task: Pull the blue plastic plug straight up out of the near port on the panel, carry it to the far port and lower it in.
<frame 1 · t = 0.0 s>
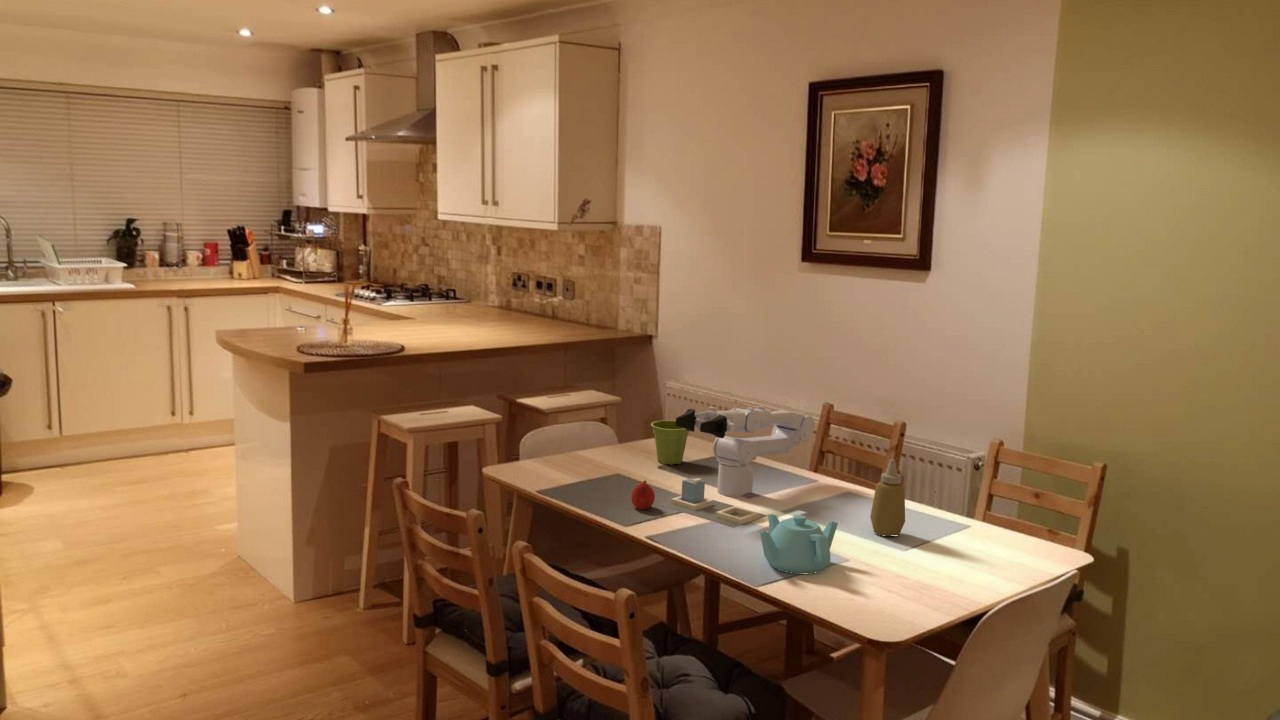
hand: (688, 424, 248), 22 cm above the table, tool horizontal, fingers open, 7 cm apart
plant pot: (669, 462, 297), on the table
red pomegranate: (642, 512, 248), on the table
squeeze bottle: (886, 534, 240), on the table
teapot: (795, 565, 217), on the table
plug: (692, 504, 253), point 1 cm above the table, touching panel
panel: (714, 514, 249), on the table
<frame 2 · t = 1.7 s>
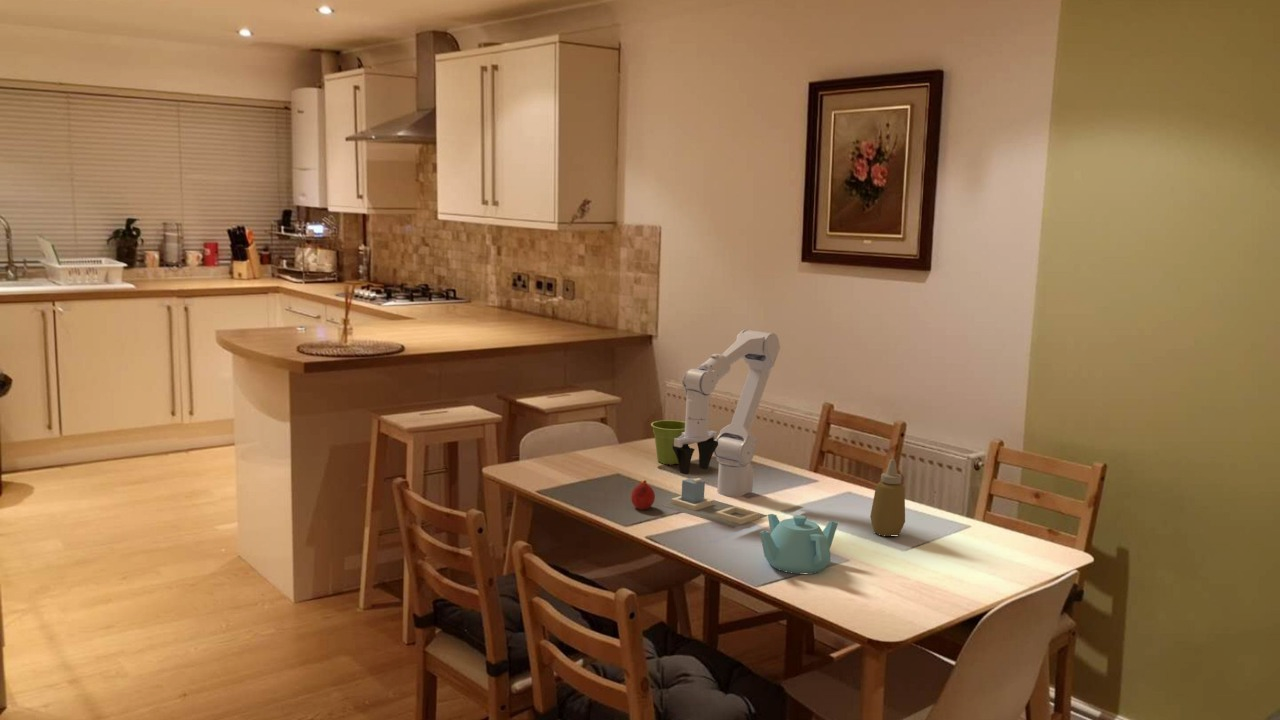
hand: (694, 471, 252), 9 cm above the table, tool pointing down, fingers open, 7 cm apart
nothing on the table moved.
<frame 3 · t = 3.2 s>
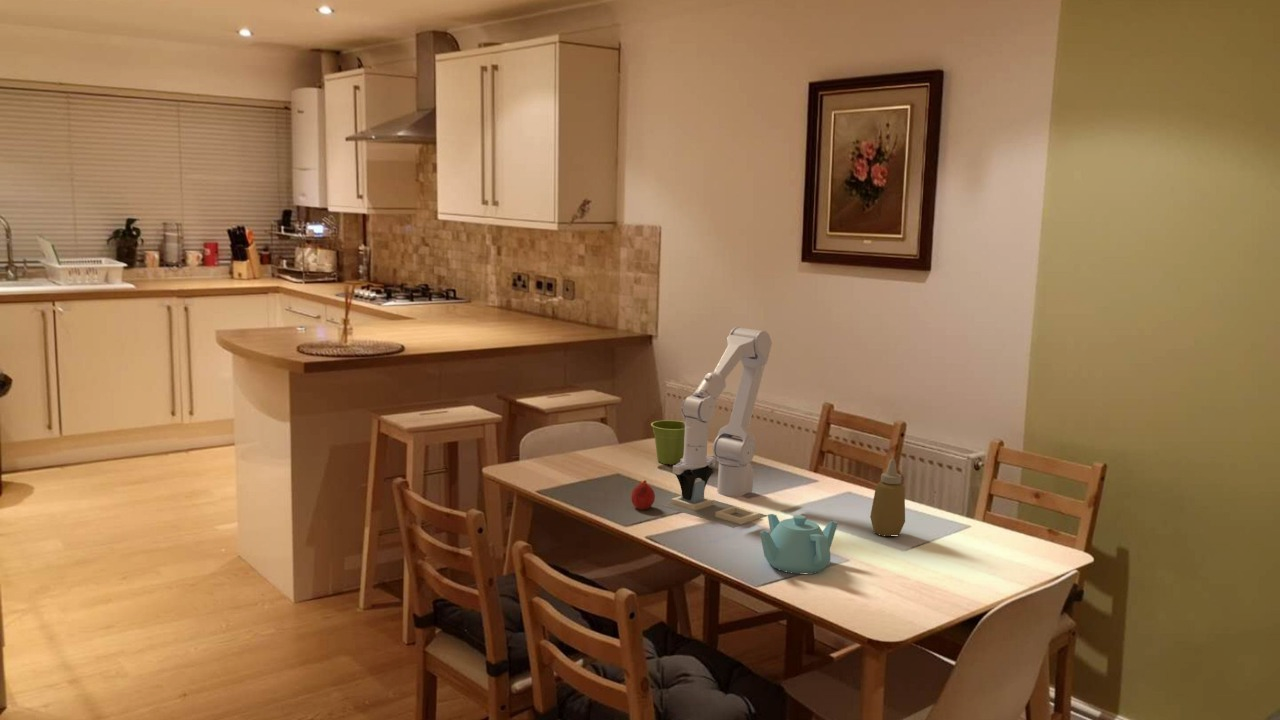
hand: (692, 497, 253), 3 cm above the table, tool pointing down, fingers closed on plug, 4 cm apart
plug: (692, 504, 253), point 1 cm above the table, touching gripper, panel
everything else where it was.
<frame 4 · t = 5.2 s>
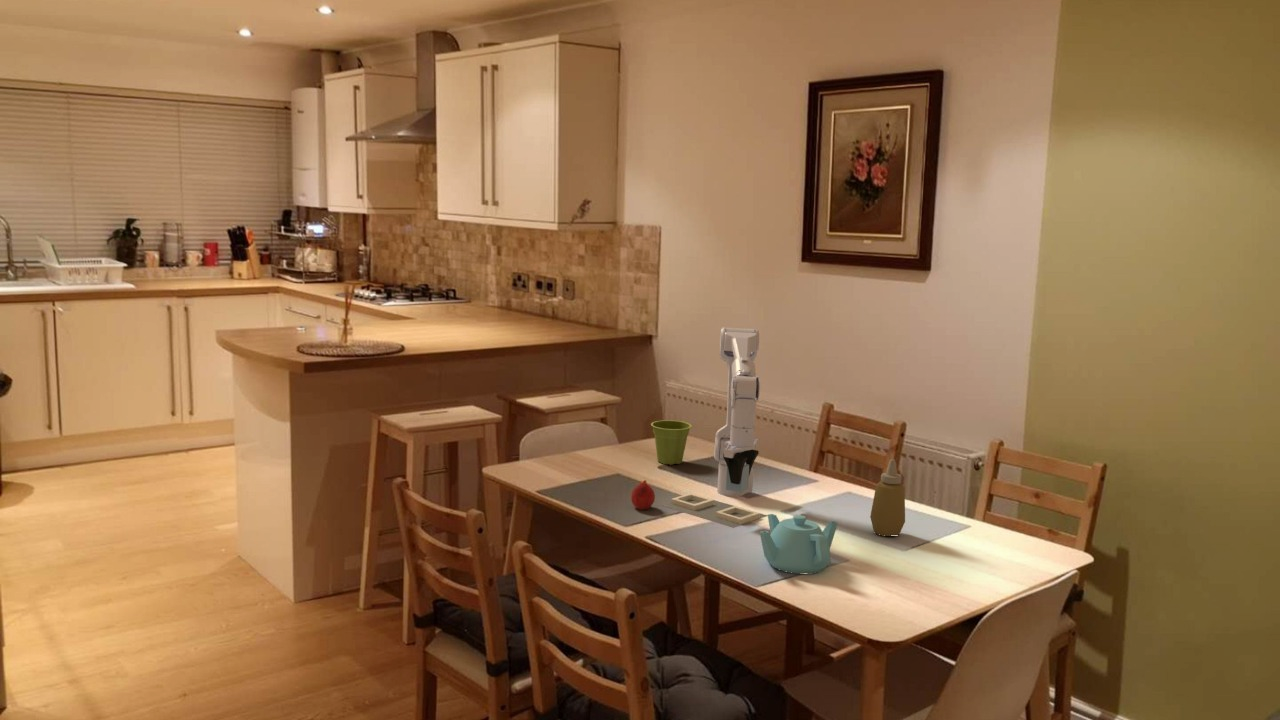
hand: (739, 481, 242), 10 cm above the table, tool pointing down, fingers closed on plug, 4 cm apart
plug: (737, 489, 243), point 8 cm above the table, touching gripper
everything else where it was.
when the fingers open (3 cm above the table, at t = 7.3 s): plug stays where it is, resting on panel.
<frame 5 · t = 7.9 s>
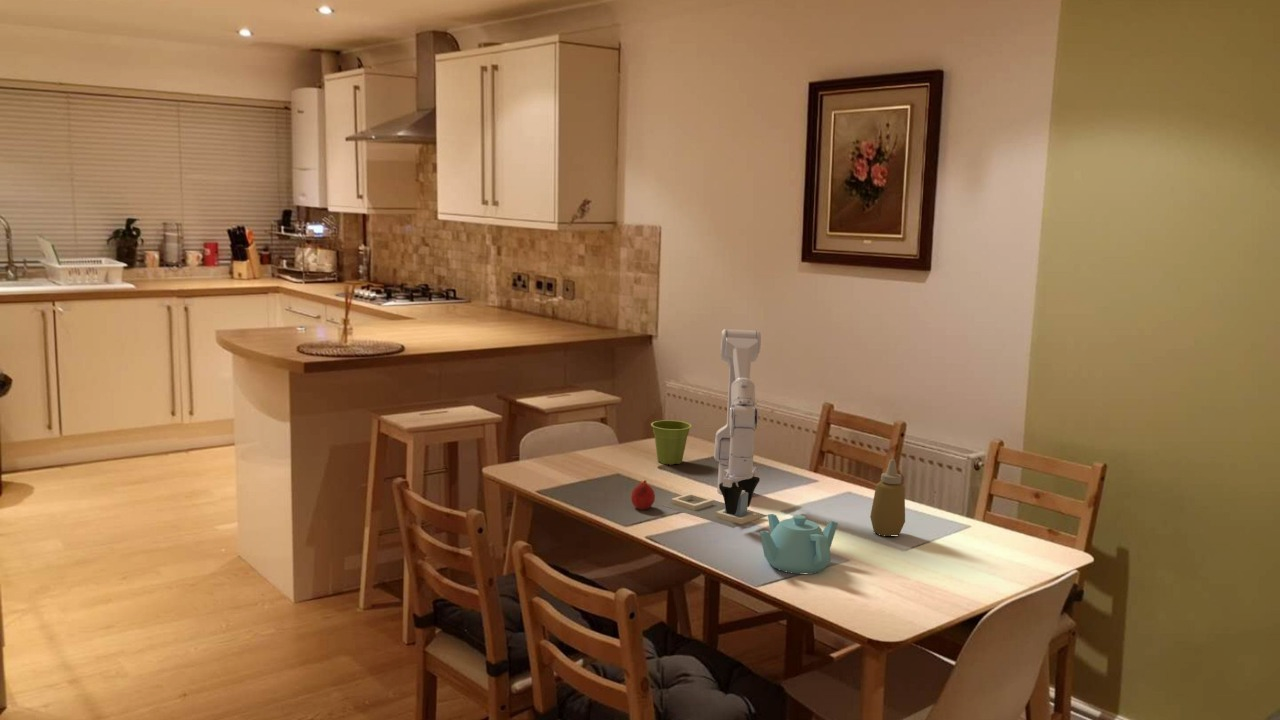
hand: (737, 509, 243), 3 cm above the table, tool pointing down, fingers open, 7 cm apart
plug: (735, 517, 244), point 1 cm above the table, touching panel
everything else where it was.
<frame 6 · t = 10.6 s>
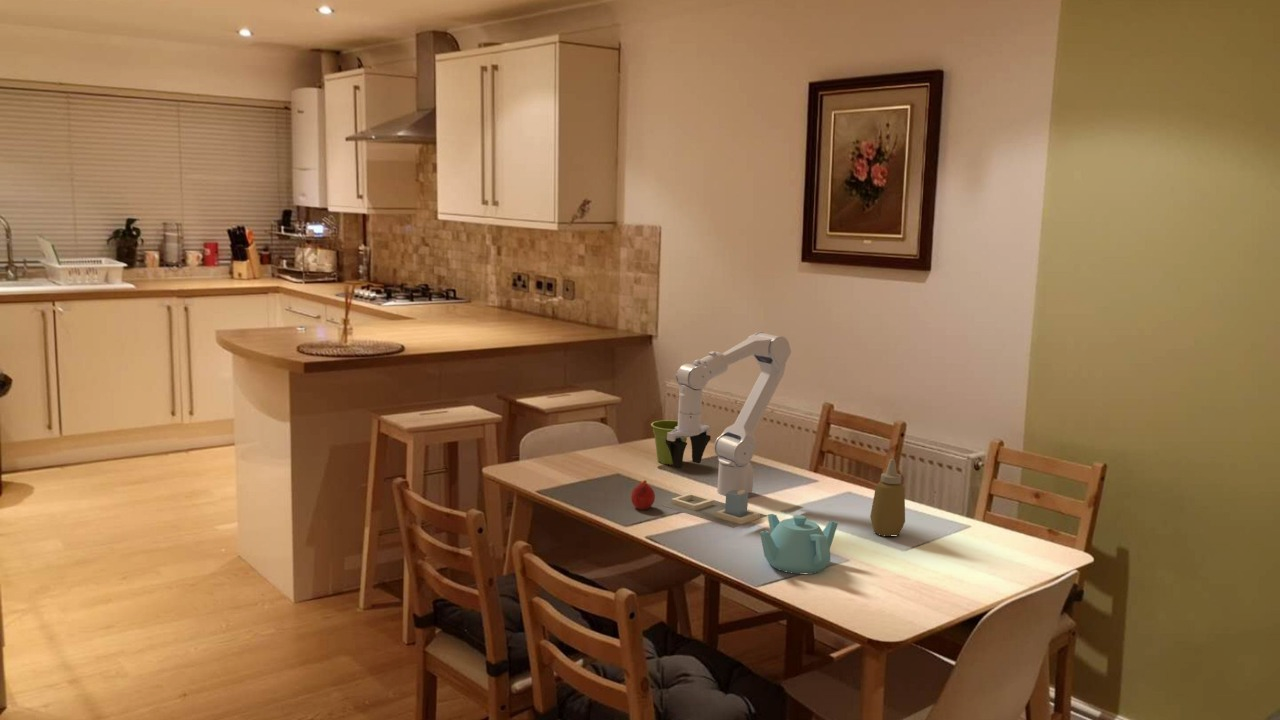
hand: (686, 464, 256), 10 cm above the table, tool pointing down, fingers open, 7 cm apart
nothing on the table moved.
at the end: plug 0.4 cm from the target spot on the panel, point 1.0 cm above the panel's base; plug tilted 0°; the gripper is holding nothing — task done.
